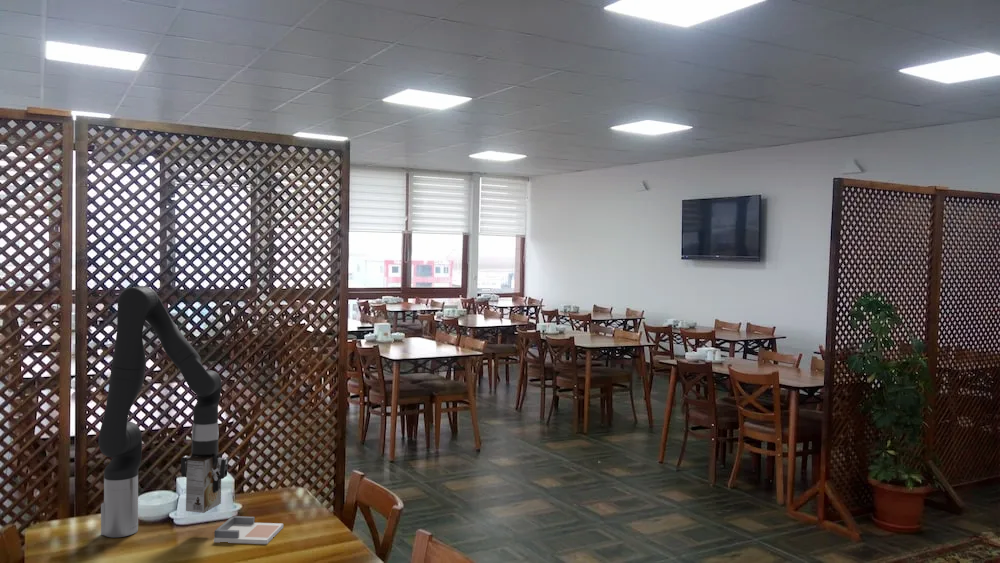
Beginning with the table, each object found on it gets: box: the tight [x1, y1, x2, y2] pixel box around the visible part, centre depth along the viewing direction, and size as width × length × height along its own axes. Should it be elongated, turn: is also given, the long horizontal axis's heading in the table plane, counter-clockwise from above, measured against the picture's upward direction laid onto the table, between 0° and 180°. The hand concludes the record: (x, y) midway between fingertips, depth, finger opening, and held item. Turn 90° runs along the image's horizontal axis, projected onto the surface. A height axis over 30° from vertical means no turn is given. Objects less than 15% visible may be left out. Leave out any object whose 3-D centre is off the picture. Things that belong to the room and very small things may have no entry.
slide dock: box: [213, 515, 284, 545], centre depth 229 cm, size 16×14×3 cm
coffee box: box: [185, 452, 223, 514], centre depth 229 cm, size 9×6×16 cm
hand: (203, 491), depth 229 cm, fingers closed on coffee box, 7 cm apart
